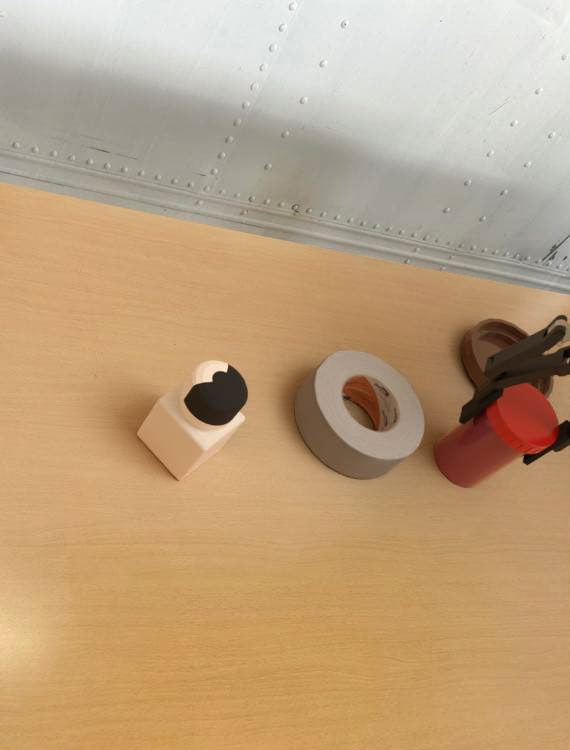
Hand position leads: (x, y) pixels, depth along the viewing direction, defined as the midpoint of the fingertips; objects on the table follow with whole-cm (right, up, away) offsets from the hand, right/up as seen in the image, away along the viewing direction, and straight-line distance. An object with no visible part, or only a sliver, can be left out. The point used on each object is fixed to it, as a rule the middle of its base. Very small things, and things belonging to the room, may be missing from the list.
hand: (494, 435), depth 96 cm
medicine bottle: (-39, -2, -10) cm, 41 cm away
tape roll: (-18, +1, +1) cm, 18 cm away
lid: (+2, +2, -4) cm, 5 cm away
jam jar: (-2, -3, +6) cm, 7 cm away
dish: (+8, +12, +16) cm, 21 cm away
